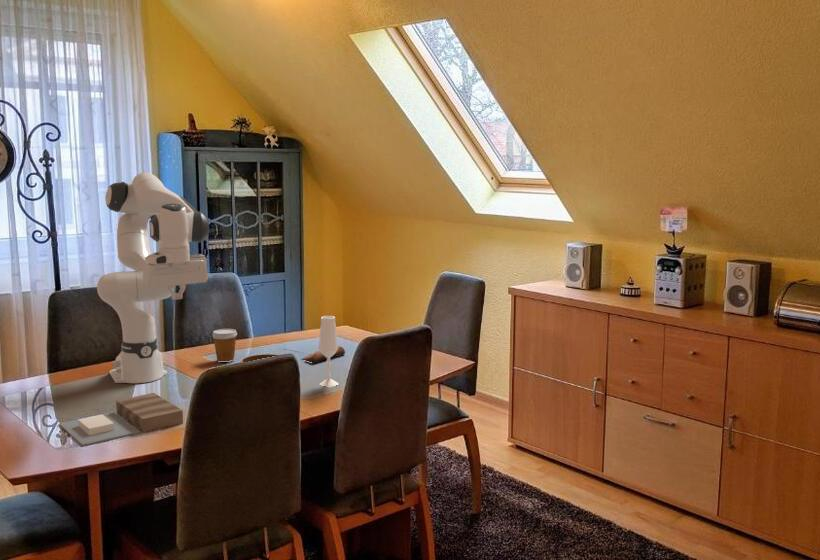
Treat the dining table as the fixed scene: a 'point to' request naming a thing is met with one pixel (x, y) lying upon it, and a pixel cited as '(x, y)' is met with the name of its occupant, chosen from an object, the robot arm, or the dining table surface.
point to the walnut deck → (149, 412)
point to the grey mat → (83, 438)
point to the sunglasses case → (319, 356)
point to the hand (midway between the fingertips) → (177, 299)
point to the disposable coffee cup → (225, 344)
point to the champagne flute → (328, 345)
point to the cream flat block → (95, 424)
